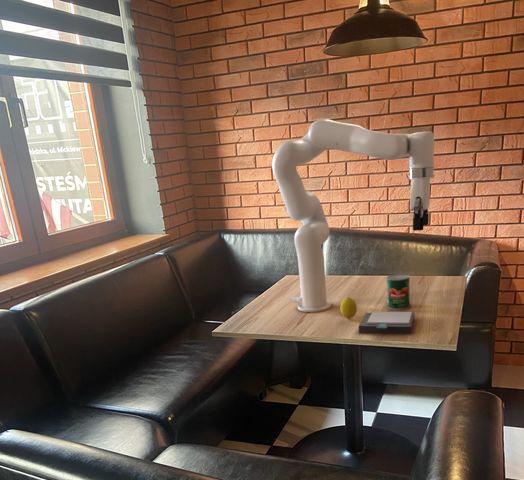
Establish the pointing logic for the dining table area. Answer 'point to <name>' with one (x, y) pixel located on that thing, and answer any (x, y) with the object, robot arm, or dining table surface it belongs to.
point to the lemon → (348, 308)
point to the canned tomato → (398, 292)
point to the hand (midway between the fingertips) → (420, 227)
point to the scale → (387, 323)
